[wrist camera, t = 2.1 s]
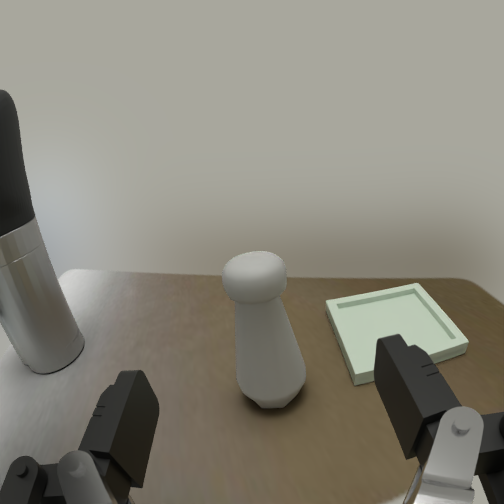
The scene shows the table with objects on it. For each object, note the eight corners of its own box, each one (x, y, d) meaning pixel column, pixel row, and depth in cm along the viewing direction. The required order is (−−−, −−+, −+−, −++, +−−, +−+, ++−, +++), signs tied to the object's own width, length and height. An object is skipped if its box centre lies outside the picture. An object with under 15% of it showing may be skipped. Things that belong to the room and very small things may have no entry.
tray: (354, 385, 25) (355, 374, 24) (326, 311, 36) (325, 300, 35) (465, 352, 24) (468, 341, 24) (416, 293, 35) (417, 282, 35)
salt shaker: (263, 362, 30) (240, 238, 24) (317, 378, 26) (309, 244, 21) (229, 403, 25) (190, 273, 20) (287, 425, 22) (268, 287, 17)
